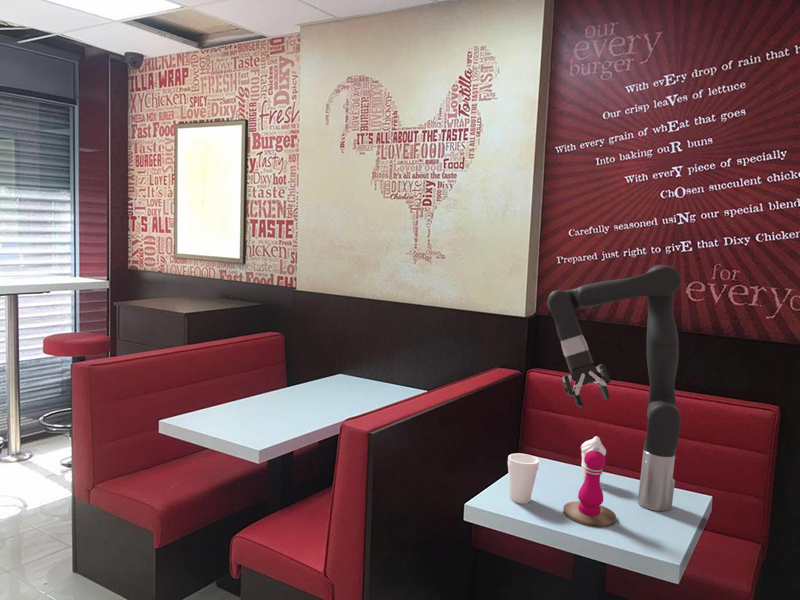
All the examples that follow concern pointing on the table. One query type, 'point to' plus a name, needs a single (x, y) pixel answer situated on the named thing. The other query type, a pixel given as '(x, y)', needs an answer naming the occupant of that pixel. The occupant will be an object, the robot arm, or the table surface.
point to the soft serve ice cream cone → (588, 447)
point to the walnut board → (600, 520)
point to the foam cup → (521, 476)
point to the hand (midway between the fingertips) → (594, 403)
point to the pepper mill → (592, 483)
